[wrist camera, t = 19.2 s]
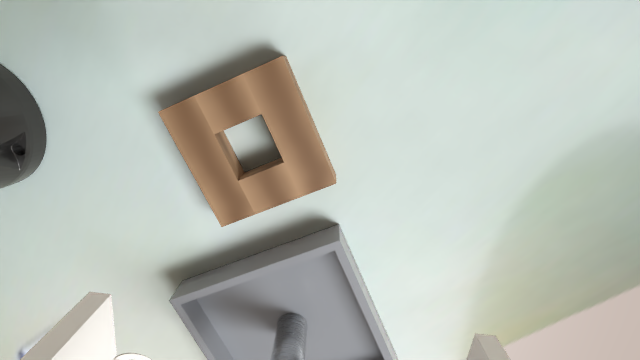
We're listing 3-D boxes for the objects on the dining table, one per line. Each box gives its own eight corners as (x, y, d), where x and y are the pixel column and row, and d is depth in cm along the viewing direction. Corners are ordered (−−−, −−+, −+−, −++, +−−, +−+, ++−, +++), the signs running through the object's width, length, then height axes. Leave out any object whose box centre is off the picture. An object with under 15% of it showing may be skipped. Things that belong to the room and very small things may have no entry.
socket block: (229, 215, 42) (221, 227, 40) (170, 108, 38) (157, 111, 36) (335, 174, 40) (336, 183, 38) (286, 56, 36) (282, 55, 34)
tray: (256, 398, 52) (250, 424, 48) (182, 280, 46) (169, 300, 42) (397, 356, 49) (402, 381, 45) (339, 224, 42) (339, 240, 39)
